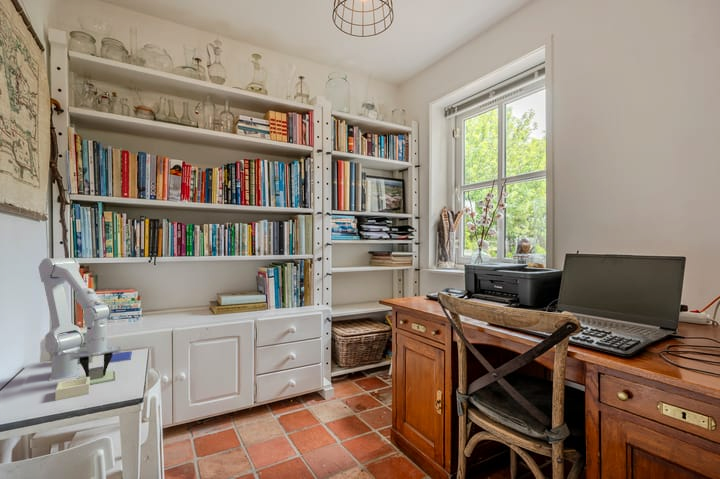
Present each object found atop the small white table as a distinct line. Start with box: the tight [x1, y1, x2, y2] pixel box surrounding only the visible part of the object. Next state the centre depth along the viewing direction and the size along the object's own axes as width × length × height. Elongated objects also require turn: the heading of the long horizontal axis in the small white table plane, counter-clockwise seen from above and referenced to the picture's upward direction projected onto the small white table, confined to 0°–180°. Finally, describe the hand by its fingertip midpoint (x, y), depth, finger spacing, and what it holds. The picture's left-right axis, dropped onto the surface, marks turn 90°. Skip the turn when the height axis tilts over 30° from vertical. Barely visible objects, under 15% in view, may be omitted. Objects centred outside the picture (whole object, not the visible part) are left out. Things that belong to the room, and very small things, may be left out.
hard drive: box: [109, 350, 133, 364], centre depth 144 cm, size 2×8×12 cm
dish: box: [55, 377, 91, 401], centre depth 109 cm, size 8×8×4 cm
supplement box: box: [77, 328, 98, 364], centre depth 142 cm, size 7×7×13 cm
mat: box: [76, 370, 116, 386], centre depth 120 cm, size 11×11×1 cm
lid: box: [77, 365, 114, 386], centre depth 120 cm, size 10×10×4 cm
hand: (96, 376), depth 120 cm, fingers closed on lid, 4 cm apart
